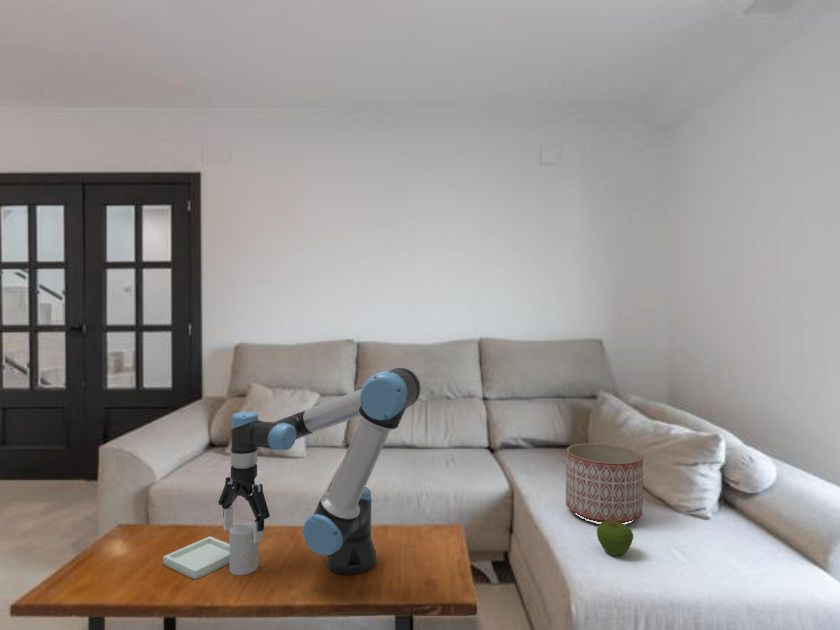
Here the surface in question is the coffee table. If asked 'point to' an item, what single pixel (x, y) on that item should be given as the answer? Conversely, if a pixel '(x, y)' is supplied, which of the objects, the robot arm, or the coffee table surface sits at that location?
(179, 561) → the tray
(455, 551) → the coffee table surface
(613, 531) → the apple
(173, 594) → the coffee table surface
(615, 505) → the planter
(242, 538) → the cup
